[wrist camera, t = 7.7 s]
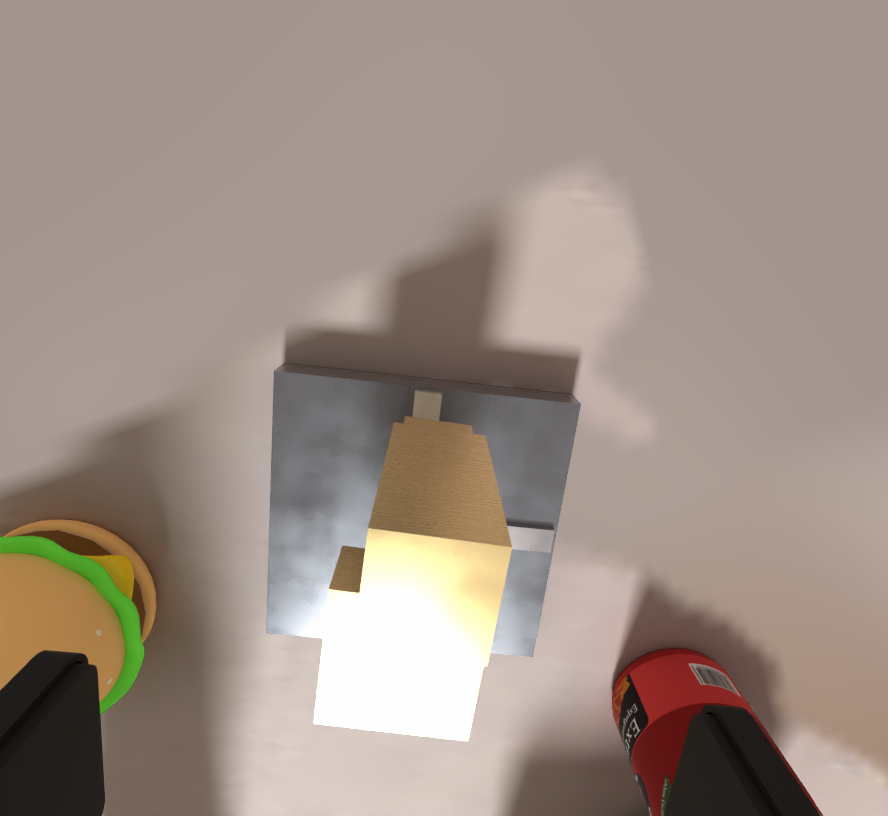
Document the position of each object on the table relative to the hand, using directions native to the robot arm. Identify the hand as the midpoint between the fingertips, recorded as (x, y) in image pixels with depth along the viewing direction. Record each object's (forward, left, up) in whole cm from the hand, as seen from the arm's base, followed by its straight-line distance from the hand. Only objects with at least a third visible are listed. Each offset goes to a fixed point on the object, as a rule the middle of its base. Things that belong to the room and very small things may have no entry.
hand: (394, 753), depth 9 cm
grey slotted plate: (0, -8, -23) cm, 25 cm away
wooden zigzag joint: (0, -4, -13) cm, 14 cm away
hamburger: (-20, -15, -24) cm, 34 cm away
